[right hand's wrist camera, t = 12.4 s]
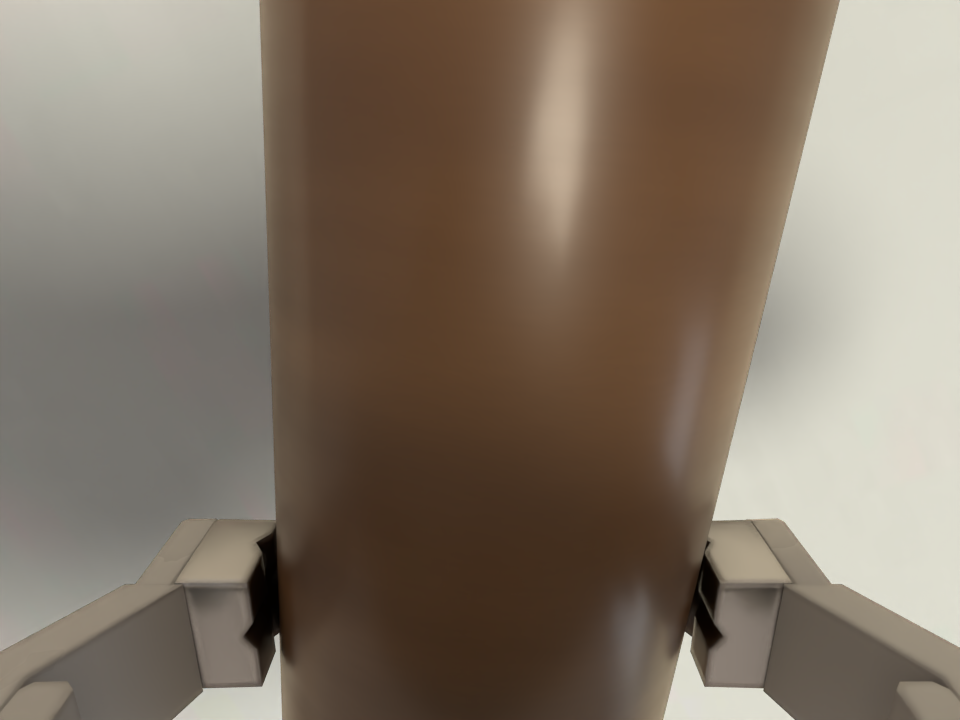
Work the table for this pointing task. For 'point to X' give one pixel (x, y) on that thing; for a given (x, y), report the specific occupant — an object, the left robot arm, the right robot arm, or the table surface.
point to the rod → (513, 335)
